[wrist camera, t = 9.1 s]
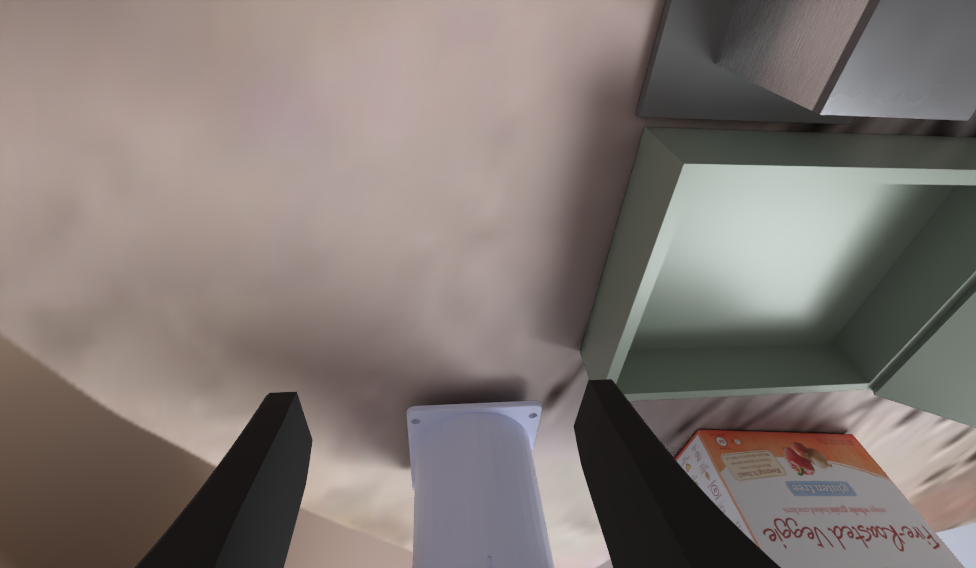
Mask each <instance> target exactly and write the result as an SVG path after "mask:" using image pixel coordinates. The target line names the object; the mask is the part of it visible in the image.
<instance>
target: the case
mask: <svg viewBox="0 0 976 568" xmlns="http://www.w3.org/2000/svg"><path fill="white" fill-rule="evenodd" d="M580 354H581V356H582V359H583V362H584V365H585V368H586V371H587V373H588V376H589V379H590V380H602V379H612V380H613V381H614V382H615V384H616V385H617V386H618V388H619V389H620V390H621V392H622V393H623V394H624V396H625V397H626V398H627V400H628V401H643V400H664V399H685V398H707V397H728V396H749V395H771V394H792V393H813V392H835V391H856V390H873V393H874V395H876V396H879V397H882V398H885V399H888V400H891V401H895V402H898V403H901V404H904V405H907V406H910V407H913V408H916V409H919V410H922V411H926V412H929V413H932V414H935V415H938V416H941V417H944V418H947V419H950V420H953V421H957V422H960V423H963V424H966V425H969V426H972V427H975V428H976V138H975V137H943V136H912V135H881V134H849V133H818V132H786V131H755V130H724V129H692V128H661V127H644V130H643V134H642V137H641V141H640V144H639V148H638V151H637V155H636V158H635V162H634V165H633V169H632V172H631V176H630V179H629V183H628V186H627V190H626V193H625V197H624V200H623V204H622V207H621V211H620V214H619V218H618V221H617V225H616V228H615V232H614V235H613V239H612V242H611V245H610V249H609V252H608V256H607V259H606V263H605V266H604V270H603V273H602V277H601V280H600V284H599V287H598V291H597V294H596V298H595V301H594V305H593V308H592V312H591V315H590V319H589V322H588V326H587V329H586V333H585V336H584V340H583V343H582V347H581V350H580Z"/></svg>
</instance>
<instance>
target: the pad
mask: <svg viewBox="0 0 976 568" xmlns="http://www.w3.org/2000/svg"><path fill="white" fill-rule="evenodd" d="M736 3H737V0H666V3H665V7H664V11H663V14H662V18H661V22H660V26H659V29H658V33H657V37H656V41H655V44H654V48H653V52H652V55H651V59H650V63H649V67H648V70H647V74H646V78H645V81H644V85H643V89H642V93H641V96H640V100H639V104H638V107H637V111H636V114H637V115H638V116H639V117H653V118H682V119H710V120H739V121H768V122H797V123H826V124H852V123H853V121H854V119H855V118H856V116H840V115H820V114H817V113H815V112H813V111H811V110H809V109H807V108H805V107H803V106H801V105H799V104H797V103H794V102H792V101H790V100H788V99H786V98H784V97H782V96H780V95H778V94H776V93H774V92H771V91H769V90H767V89H765V88H763V87H761V86H759V85H757V84H755V83H753V82H751V81H749V80H746V79H744V78H742V77H740V76H738V75H736V74H734V73H732V72H730V71H728V70H726V69H723V68H721V67H719V66H717V65H715V62H716V59H717V56H718V53H719V51H720V48H721V45H722V42H723V39H724V37H725V34H726V31H727V28H728V25H729V23H730V20H731V17H732V14H733V11H734V9H735V6H736Z"/></svg>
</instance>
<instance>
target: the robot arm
mask: <svg viewBox="0 0 976 568" xmlns="http://www.w3.org/2000/svg"><path fill="white" fill-rule="evenodd" d="M541 412H542V406H541V403H540V402H538V401H514V402H492V403H470V404H448V405H426V406H412V407H410V408H409V409H408V410H407V427H408V439H409V451H410V463H411V475H412V487H413V490H414V491H415V496H414V532H413V568H554V564H553V559H552V554H551V549H550V544H549V539H548V533H547V528H546V523H545V518H544V513H543V508H542V502H541V497H540V492H539V487H538V482H537V477H536V471H535V466H534V461H533V456H532V450H533V446H534V442H535V438H536V433H537V429H538V425H539V421H540V417H541ZM574 430H575V435H576V441H577V446H578V451H579V456H580V461H581V465H582V469H583V472H584V475H585V479H586V482H587V485H588V488H589V491H590V495H591V498H592V501H593V504H594V507H595V510H596V513H597V517H598V520H599V523H600V526H601V529H602V532H603V535H604V538H605V542H606V545H607V548H608V551H609V554H610V558H611V561H612V565H613V568H781V567H780V566H779V565H778V564H777V563H775V562H774V561H773V560H772V559H771V558H770V557H769V556H768V555H767V554H765V553H764V552H763V551H762V550H761V549H760V548H759V547H758V546H757V545H756V544H755V543H754V542H753V541H752V540H751V539H750V538H749V537H747V536H746V535H745V534H744V533H743V532H742V531H741V530H740V529H739V528H738V527H737V526H736V525H735V524H734V523H733V522H732V521H731V520H730V519H729V518H728V517H727V516H726V515H725V514H724V513H723V512H722V511H721V510H720V509H719V508H718V507H717V506H716V504H715V503H714V502H713V501H712V500H711V499H710V498H709V497H708V496H707V495H706V494H705V493H704V492H703V491H702V489H701V488H700V487H699V486H698V485H697V484H696V483H695V482H694V481H693V479H692V478H691V477H690V476H689V475H688V474H687V473H686V472H685V470H684V469H683V468H682V467H681V466H680V465H679V463H678V462H677V461H676V460H675V459H674V458H673V456H672V455H671V454H670V453H669V451H668V450H667V449H666V448H665V447H664V445H663V444H662V443H661V442H660V441H659V439H658V438H657V437H656V436H655V434H654V433H653V432H652V431H651V429H650V428H649V427H648V426H647V424H646V423H645V422H644V420H643V419H642V418H641V417H640V415H639V414H638V413H637V411H636V410H635V409H634V407H633V406H632V405H631V404H630V402H629V401H628V400H627V398H626V397H625V396H624V394H623V393H622V392H621V390H620V389H619V388H618V386H617V385H616V384H615V382H614V381H613V380H612V379H602V380H589V381H588V384H587V387H586V390H585V393H584V396H583V399H582V402H581V406H580V409H579V412H578V415H577V418H576V421H575V424H574ZM311 447H312V437H311V434H310V431H309V428H308V425H307V422H306V419H305V416H304V413H303V410H302V407H301V404H300V401H299V397H298V394H297V392H280V393H269V394H268V395H267V396H266V397H265V398H264V400H263V402H262V403H261V405H260V406H259V408H258V409H257V411H256V412H255V414H254V415H253V417H252V418H251V420H250V421H249V423H248V424H247V425H246V427H245V428H244V430H243V431H242V433H241V434H240V436H239V437H238V438H237V440H236V441H235V443H234V444H233V446H232V447H231V448H230V450H229V451H228V453H227V454H226V455H225V457H224V458H223V459H222V461H221V462H220V463H219V465H218V466H217V467H216V469H215V470H214V471H213V473H212V474H211V476H210V477H209V478H208V480H207V481H206V482H205V484H204V485H203V486H202V488H201V489H200V490H199V492H198V493H197V494H196V495H195V496H194V498H193V499H192V500H191V501H190V503H189V504H188V505H187V507H186V508H185V509H184V510H183V511H182V513H181V514H180V515H179V517H178V518H177V519H176V520H175V521H174V523H173V524H172V525H171V526H170V527H169V529H168V530H167V531H166V532H165V533H164V535H163V536H162V537H161V538H160V539H159V540H158V542H157V543H156V544H155V545H154V547H152V549H151V550H150V551H149V552H148V553H147V554H146V556H145V557H144V558H143V559H142V560H141V561H140V562H139V563H138V565H137V566H136V567H135V568H284V564H285V561H286V557H287V553H288V549H289V545H290V542H291V538H292V535H293V531H294V527H295V523H296V520H297V516H298V512H299V508H300V505H301V501H302V497H303V493H304V489H305V485H306V480H307V474H308V468H309V461H310V454H311Z"/></svg>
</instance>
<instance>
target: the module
mask: <svg viewBox="0 0 976 568" xmlns="http://www.w3.org/2000/svg"><path fill="white" fill-rule="evenodd" d="M715 65H717V66H719V67H721V68H723V69H726V70H728V71H730V72H732V73H734V74H736V75H738V76H740V77H742V78H744V79H746V80H749V81H751V82H753V83H755V84H757V85H759V86H761V87H763V88H765V89H767V90H769V91H771V92H774V93H776V94H778V95H780V96H782V97H784V98H786V99H788V100H790V101H792V102H794V103H797V104H799V105H801V106H803V107H805V108H807V109H809V110H811V111H813V112H815V113H817V114H820V115H840V116H865V117H889V118H914V119H938V120H963V121H968V120H969V118H970V117H971V116H972V114H973V113H974V112H975V110H976V0H737V3H736V6H735V9H734V11H733V14H732V17H731V20H730V23H729V25H728V28H727V31H726V34H725V37H724V39H723V42H722V45H721V48H720V51H719V53H718V56H717V59H716V62H715Z"/></svg>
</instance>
